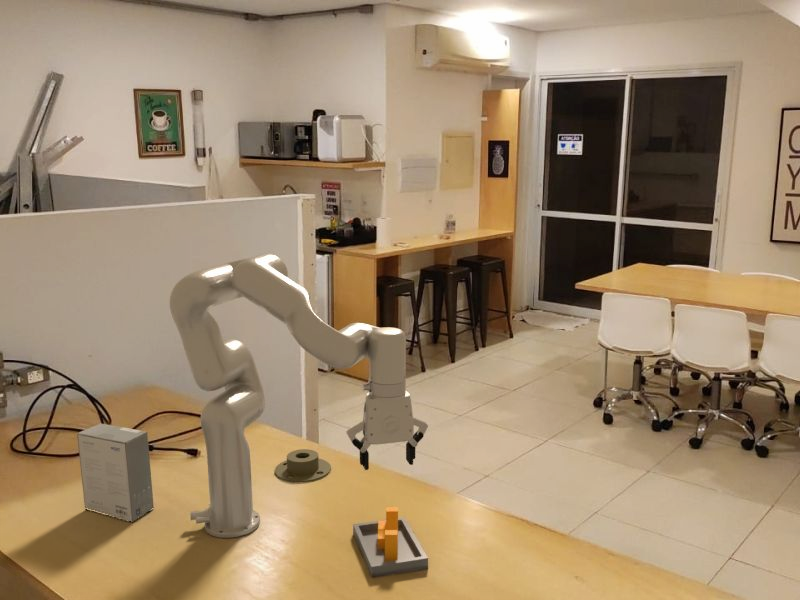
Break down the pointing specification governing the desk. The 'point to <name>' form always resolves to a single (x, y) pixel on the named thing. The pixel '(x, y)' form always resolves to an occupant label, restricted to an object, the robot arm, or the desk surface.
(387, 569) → the parts tray
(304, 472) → the flange
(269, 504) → the desk surface
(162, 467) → the desk surface
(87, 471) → the hard drive box
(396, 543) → the orange blocky piece
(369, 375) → the robot arm
